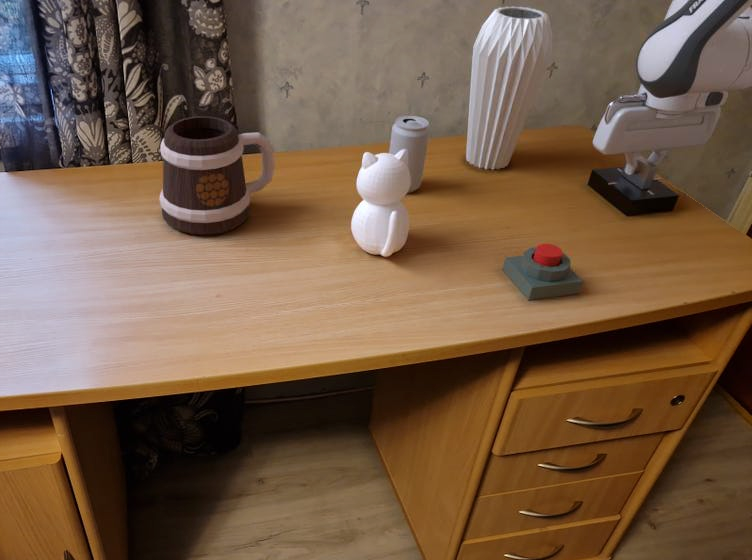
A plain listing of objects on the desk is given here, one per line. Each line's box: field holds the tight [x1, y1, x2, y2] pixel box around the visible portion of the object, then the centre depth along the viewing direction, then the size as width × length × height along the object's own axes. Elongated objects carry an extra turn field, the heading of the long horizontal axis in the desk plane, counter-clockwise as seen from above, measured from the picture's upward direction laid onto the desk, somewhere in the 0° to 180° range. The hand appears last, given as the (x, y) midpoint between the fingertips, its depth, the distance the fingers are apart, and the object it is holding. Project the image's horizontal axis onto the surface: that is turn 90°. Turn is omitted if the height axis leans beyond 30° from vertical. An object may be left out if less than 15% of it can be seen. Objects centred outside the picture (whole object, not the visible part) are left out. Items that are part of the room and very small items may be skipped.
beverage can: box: [388, 115, 431, 194], centre depth 119 cm, size 6×6×12 cm
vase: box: [465, 6, 553, 171], centre depth 123 cm, size 13×13×26 cm
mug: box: [158, 115, 275, 236], centre depth 110 cm, size 20×15×15 cm
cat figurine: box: [350, 149, 411, 258], centre depth 102 cm, size 9×12×15 cm
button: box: [533, 243, 564, 267], centre depth 97 cm, size 4×4×2 cm
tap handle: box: [621, 155, 659, 190], centre depth 117 cm, size 6×2×4 cm, turn 13°
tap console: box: [586, 165, 680, 217], centre depth 119 cm, size 12×10×3 cm
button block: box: [501, 246, 584, 301], centre depth 99 cm, size 8×8×4 cm
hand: (638, 172), depth 117 cm, fingers closed on tap handle, 2 cm apart
